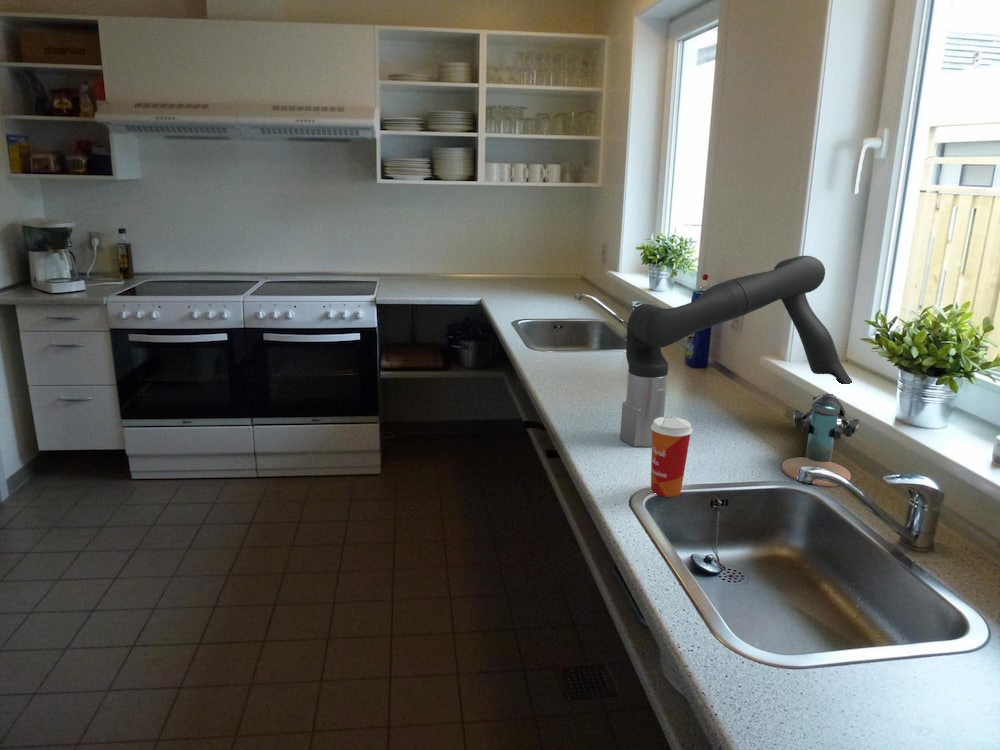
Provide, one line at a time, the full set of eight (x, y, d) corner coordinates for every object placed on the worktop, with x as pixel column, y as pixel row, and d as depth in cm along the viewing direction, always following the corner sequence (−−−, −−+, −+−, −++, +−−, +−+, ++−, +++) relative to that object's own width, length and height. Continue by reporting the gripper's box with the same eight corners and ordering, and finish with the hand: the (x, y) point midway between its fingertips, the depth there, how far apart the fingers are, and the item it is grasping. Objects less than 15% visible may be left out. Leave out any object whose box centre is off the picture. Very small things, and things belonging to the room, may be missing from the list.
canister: (820, 464, 159) (827, 411, 155) (799, 455, 164) (806, 403, 160) (837, 459, 161) (845, 407, 158) (816, 451, 166) (824, 400, 163)
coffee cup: (642, 482, 156) (648, 415, 152) (681, 483, 156) (688, 416, 152) (649, 499, 148) (655, 428, 144) (690, 500, 148) (697, 430, 144)
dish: (819, 490, 154) (820, 486, 154) (768, 467, 166) (768, 462, 166) (864, 480, 160) (865, 475, 160) (811, 457, 172) (812, 453, 172)
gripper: (797, 391, 175) (788, 411, 160) (864, 401, 169) (860, 422, 154) (793, 421, 177) (783, 443, 162) (859, 432, 171) (855, 456, 156)
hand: (821, 433), depth 158 cm, fingers closed on canister, 5 cm apart
